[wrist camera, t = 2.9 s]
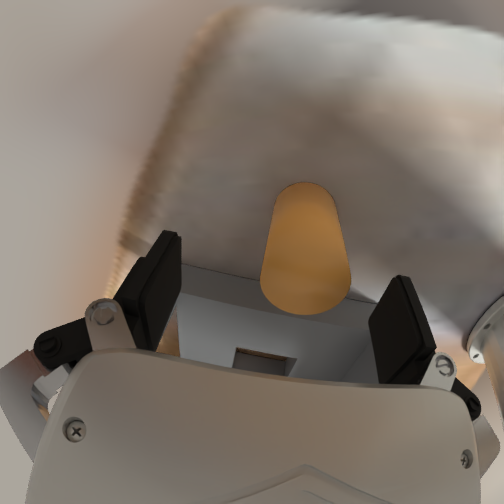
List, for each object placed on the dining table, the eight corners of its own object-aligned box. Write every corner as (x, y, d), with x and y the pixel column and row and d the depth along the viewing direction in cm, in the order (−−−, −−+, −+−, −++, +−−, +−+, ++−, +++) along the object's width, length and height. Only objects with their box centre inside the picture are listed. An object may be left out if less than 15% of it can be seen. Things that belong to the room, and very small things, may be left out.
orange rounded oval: (343, 191, 17) (364, 256, 11) (325, 244, 19) (333, 321, 13) (280, 175, 17) (269, 234, 11) (268, 231, 19) (253, 305, 13)
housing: (381, 305, 21) (398, 384, 15) (290, 427, 39) (285, 468, 33) (177, 262, 22) (136, 336, 16) (187, 406, 39) (174, 447, 33)
